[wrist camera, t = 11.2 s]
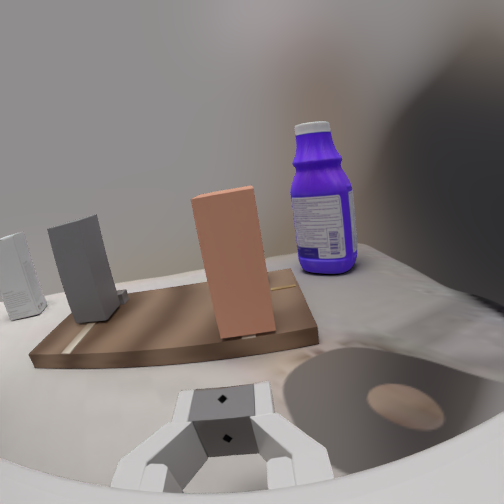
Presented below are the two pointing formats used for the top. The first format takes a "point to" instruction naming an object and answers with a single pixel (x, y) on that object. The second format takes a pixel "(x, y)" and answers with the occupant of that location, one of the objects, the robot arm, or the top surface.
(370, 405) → the top surface
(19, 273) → the skincare box
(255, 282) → the plug terracotta
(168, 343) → the wooden board
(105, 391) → the top surface
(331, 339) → the top surface
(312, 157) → the bottle
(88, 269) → the grey tall block
